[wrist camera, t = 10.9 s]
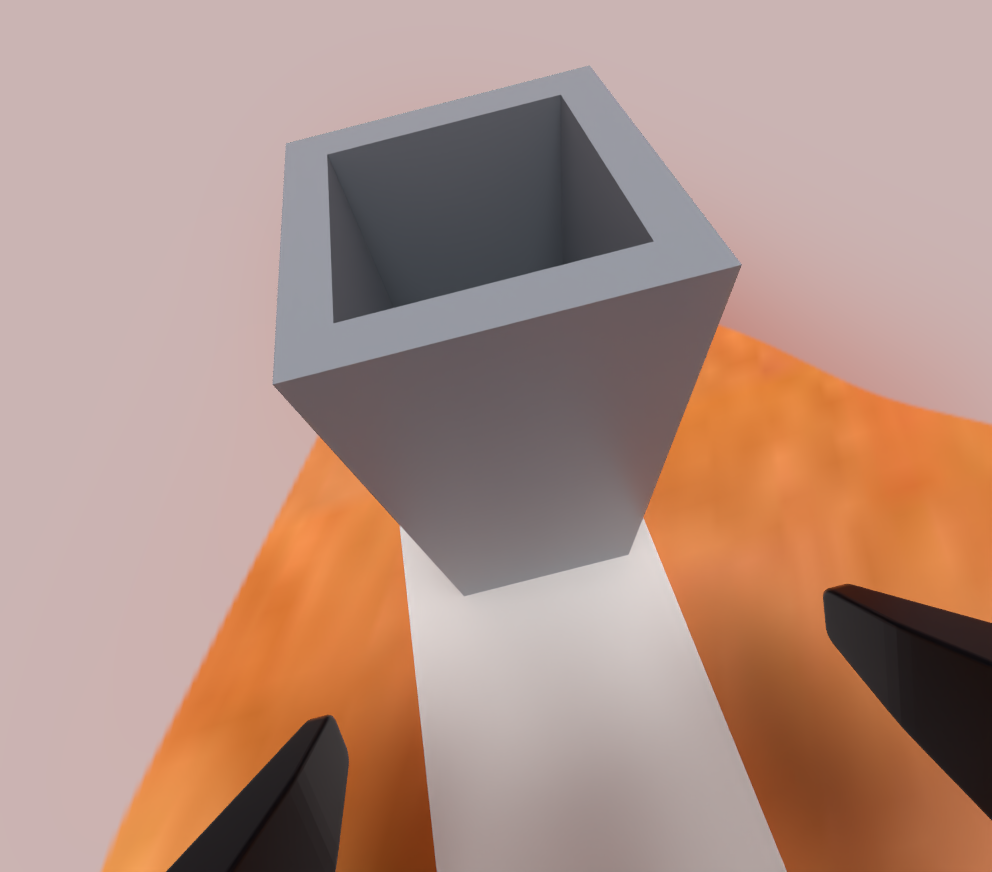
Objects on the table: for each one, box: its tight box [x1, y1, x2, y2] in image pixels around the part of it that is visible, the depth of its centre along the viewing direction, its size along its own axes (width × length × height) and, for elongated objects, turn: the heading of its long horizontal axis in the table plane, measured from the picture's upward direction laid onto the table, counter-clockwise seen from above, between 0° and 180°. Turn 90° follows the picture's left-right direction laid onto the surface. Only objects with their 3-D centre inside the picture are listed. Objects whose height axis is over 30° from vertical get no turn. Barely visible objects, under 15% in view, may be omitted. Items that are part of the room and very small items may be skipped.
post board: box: [400, 518, 787, 872], centre depth 15 cm, size 18×9×5 cm, turn 13°
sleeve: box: [273, 66, 742, 596], centre depth 13 cm, size 6×6×12 cm
